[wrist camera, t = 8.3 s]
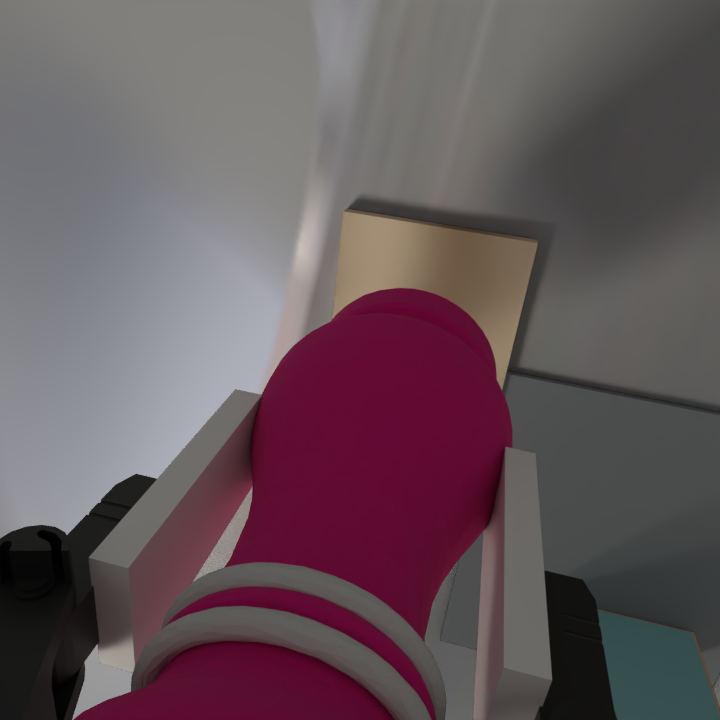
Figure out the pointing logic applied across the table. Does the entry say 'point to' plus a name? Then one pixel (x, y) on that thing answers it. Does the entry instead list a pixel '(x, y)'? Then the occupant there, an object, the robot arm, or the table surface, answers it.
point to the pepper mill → (341, 528)
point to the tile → (655, 671)
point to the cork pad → (439, 270)
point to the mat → (617, 506)
